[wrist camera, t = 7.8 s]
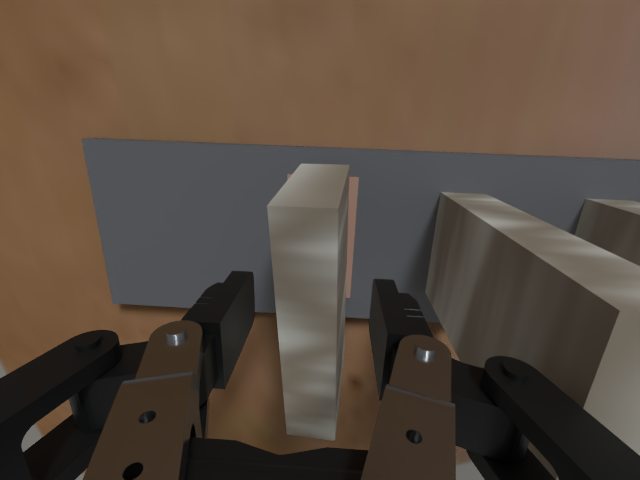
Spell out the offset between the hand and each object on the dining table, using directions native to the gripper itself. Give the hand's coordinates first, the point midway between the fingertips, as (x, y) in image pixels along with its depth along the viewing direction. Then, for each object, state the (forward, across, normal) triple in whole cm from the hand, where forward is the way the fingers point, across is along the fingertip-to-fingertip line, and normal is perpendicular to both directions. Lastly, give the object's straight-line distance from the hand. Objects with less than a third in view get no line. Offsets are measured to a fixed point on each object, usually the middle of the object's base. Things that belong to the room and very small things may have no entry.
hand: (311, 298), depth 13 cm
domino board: (+8, -11, 0) cm, 13 cm away
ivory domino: (+7, -8, 0) cm, 10 cm away
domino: (+3, 0, -4) cm, 5 cm away
